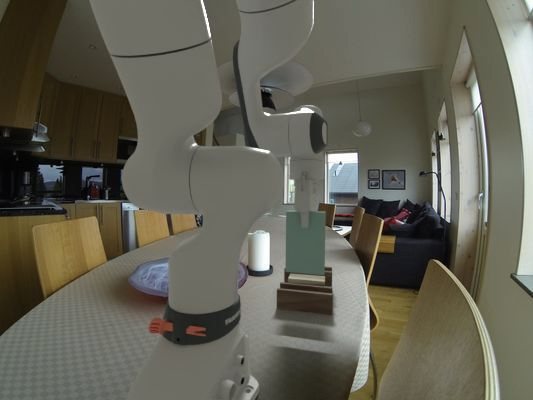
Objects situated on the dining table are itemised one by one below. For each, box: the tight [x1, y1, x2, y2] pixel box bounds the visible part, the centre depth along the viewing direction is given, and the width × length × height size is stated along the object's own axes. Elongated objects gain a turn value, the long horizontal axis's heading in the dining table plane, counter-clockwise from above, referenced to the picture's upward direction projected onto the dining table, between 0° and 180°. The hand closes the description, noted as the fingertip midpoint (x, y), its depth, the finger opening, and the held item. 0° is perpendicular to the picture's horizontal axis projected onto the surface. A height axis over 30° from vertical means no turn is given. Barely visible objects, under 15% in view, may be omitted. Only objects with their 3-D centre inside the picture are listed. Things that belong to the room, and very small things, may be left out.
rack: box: [276, 265, 334, 316], centre depth 73 cm, size 17×14×8 cm
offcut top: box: [288, 273, 325, 286], centre depth 73 cm, size 4×10×2 cm, turn 76°
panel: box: [284, 210, 327, 275], centre depth 67 cm, size 2×10×16 cm, turn 76°
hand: (305, 226), depth 67 cm, fingers closed on panel, 2 cm apart
